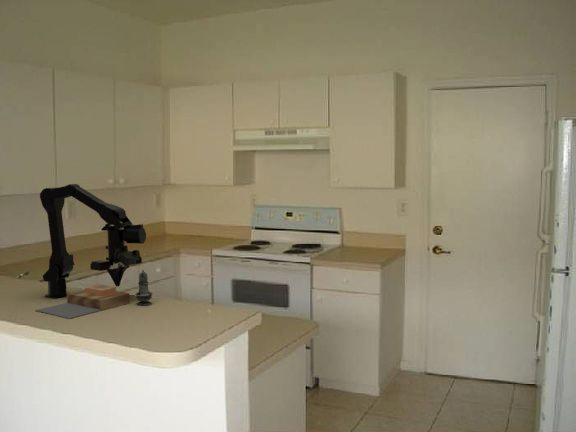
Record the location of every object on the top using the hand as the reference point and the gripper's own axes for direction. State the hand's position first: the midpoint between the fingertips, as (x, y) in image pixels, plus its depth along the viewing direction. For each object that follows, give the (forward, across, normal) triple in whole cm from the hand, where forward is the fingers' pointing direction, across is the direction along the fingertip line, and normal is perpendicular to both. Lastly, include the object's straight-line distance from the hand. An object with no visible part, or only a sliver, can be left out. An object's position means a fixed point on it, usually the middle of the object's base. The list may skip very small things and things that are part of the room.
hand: (117, 286), depth 208 cm
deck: (+4, -8, 0) cm, 10 cm away
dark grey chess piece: (+5, 0, -14) cm, 15 cm away
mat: (+4, -20, 0) cm, 21 cm away
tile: (+1, -8, 0) cm, 8 cm away
